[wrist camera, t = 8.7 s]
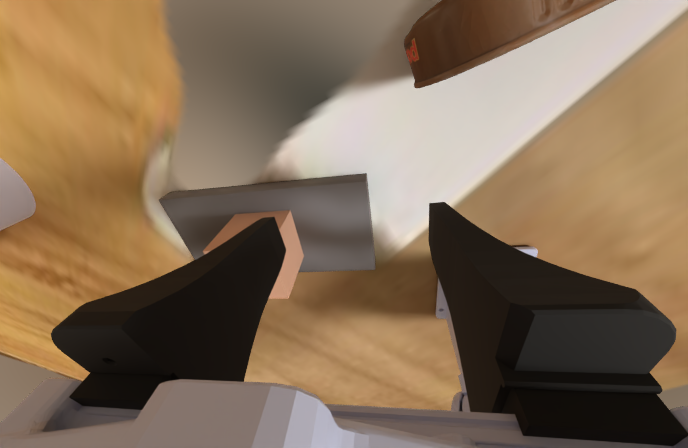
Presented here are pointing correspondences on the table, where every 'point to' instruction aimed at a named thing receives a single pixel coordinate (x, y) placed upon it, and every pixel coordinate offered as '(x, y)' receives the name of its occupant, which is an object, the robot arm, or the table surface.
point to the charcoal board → (307, 211)
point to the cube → (289, 238)
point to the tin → (482, 32)
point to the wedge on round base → (14, 197)
